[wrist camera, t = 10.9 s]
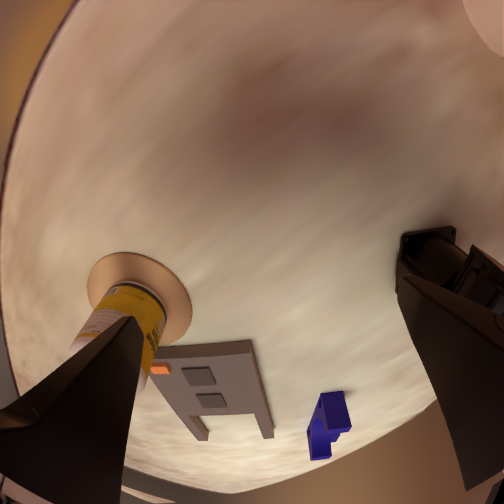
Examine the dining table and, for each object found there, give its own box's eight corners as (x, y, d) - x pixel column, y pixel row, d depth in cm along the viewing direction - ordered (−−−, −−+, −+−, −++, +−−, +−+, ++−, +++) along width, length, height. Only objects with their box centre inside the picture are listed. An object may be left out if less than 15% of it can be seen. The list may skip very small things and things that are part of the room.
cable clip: (332, 427, 37) (338, 456, 32) (306, 430, 37) (310, 460, 32) (352, 388, 32) (363, 424, 26) (320, 391, 32) (328, 430, 26)
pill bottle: (147, 340, 26) (114, 435, 16) (98, 302, 24) (44, 391, 14) (182, 308, 24) (150, 420, 14) (126, 264, 22) (60, 364, 12)
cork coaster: (170, 243, 22) (169, 245, 21) (205, 340, 27) (204, 343, 26) (72, 261, 22) (70, 263, 22) (116, 344, 27) (114, 347, 27)
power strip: (250, 339, 26) (250, 357, 24) (273, 428, 36) (274, 441, 34) (142, 347, 27) (137, 363, 25) (199, 431, 37) (197, 443, 35)
